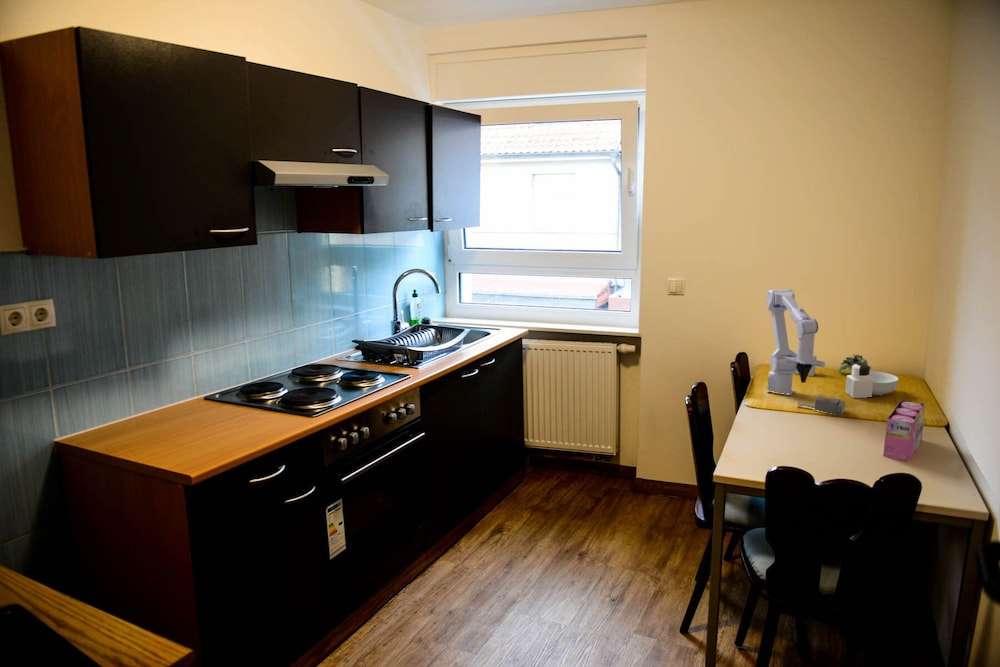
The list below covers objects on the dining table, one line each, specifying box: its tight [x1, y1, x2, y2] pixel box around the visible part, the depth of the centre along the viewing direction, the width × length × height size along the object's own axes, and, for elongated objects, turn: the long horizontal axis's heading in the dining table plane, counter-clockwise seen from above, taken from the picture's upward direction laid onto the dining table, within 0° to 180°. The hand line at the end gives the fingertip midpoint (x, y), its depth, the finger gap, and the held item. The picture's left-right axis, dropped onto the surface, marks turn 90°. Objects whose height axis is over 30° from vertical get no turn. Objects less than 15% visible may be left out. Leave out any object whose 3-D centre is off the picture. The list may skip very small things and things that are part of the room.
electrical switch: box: [793, 353, 818, 377], centre depth 327 cm, size 9×5×9 cm, turn 53°
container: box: [845, 364, 873, 399], centre depth 295 cm, size 8×8×13 cm
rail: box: [797, 400, 846, 417], centre depth 281 cm, size 16×7×4 cm, turn 54°
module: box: [814, 395, 841, 415], centre depth 280 cm, size 8×5×6 cm, turn 53°
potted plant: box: [837, 354, 872, 375], centre depth 323 cm, size 11×11×12 cm
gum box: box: [882, 399, 926, 462], centre depth 242 cm, size 24×8×14 cm, turn 141°
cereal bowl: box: [869, 370, 899, 396], centre depth 299 cm, size 17×17×7 cm
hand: (803, 382), depth 285 cm, fingers closed
